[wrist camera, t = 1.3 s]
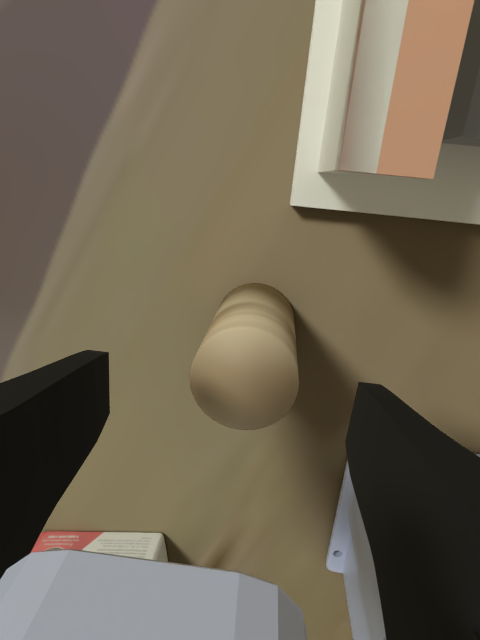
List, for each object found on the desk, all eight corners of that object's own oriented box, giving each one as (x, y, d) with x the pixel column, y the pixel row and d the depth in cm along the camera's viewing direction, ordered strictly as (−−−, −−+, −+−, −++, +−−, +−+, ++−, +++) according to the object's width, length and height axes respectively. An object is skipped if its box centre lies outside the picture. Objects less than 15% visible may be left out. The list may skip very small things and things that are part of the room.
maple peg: (288, 360, 23) (291, 436, 16) (214, 351, 23) (186, 422, 16) (299, 287, 21) (306, 338, 15) (220, 279, 22) (192, 324, 15)
